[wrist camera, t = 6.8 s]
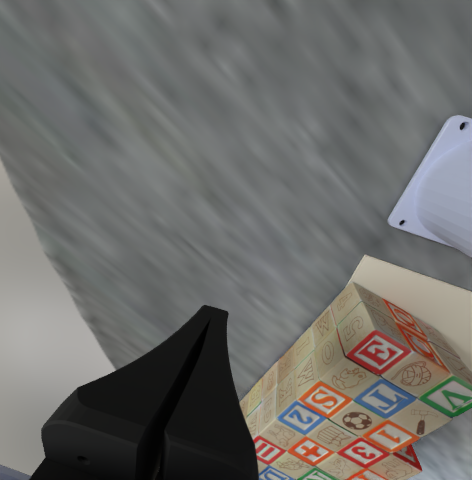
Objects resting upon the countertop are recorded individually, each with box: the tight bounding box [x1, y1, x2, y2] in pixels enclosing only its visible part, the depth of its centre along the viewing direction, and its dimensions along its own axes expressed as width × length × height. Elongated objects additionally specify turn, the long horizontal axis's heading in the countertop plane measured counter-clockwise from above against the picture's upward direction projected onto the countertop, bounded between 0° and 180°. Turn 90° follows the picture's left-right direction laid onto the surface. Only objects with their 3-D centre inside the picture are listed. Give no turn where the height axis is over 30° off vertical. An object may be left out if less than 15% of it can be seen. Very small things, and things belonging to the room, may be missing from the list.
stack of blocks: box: [240, 281, 472, 480], centre depth 23 cm, size 21×6×12 cm
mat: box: [345, 255, 472, 372], centre depth 25 cm, size 14×26×1 cm, turn 163°
